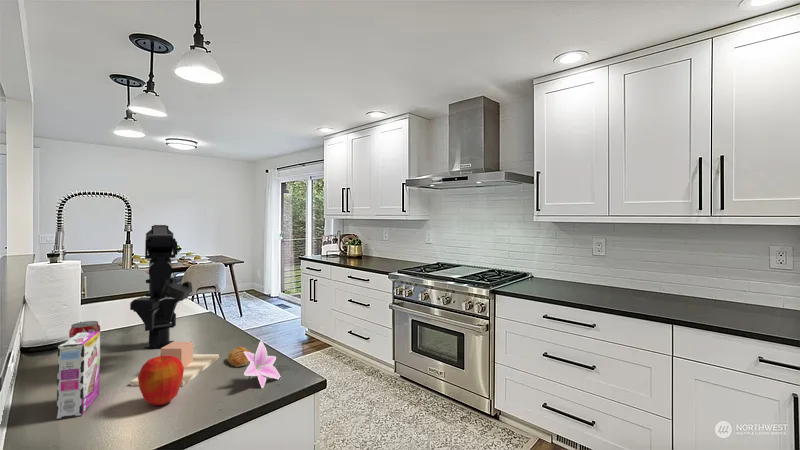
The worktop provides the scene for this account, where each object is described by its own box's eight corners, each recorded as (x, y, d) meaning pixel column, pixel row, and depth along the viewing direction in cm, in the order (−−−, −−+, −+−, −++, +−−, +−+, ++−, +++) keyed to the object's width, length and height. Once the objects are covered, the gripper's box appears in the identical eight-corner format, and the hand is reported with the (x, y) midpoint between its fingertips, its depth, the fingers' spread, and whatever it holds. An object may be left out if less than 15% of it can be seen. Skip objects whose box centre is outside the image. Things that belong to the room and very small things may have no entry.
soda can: (82, 372, 107) (82, 327, 106) (62, 370, 108) (62, 326, 108) (106, 363, 114) (106, 321, 113) (87, 361, 115) (87, 319, 115)
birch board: (175, 357, 119) (175, 353, 119) (218, 358, 119) (218, 354, 119) (130, 385, 99) (130, 381, 99) (183, 386, 99) (183, 381, 99)
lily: (235, 398, 95) (252, 368, 94) (225, 367, 103) (241, 338, 102) (276, 398, 103) (293, 369, 102) (264, 369, 112) (279, 342, 111)
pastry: (254, 365, 114) (254, 353, 114) (230, 370, 110) (230, 357, 110) (248, 356, 122) (248, 344, 122) (226, 360, 118) (226, 348, 118)
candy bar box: (84, 416, 84) (84, 343, 84) (55, 420, 82) (55, 346, 82) (101, 394, 94) (101, 329, 94) (76, 397, 92) (76, 332, 92)
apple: (133, 415, 84) (134, 363, 84) (143, 398, 92) (143, 350, 92) (181, 408, 88) (181, 357, 88) (186, 391, 96) (186, 345, 96)
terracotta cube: (173, 361, 113) (173, 341, 113) (192, 361, 113) (193, 341, 113) (160, 369, 107) (160, 348, 107) (181, 369, 107) (181, 348, 107)
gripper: (168, 282, 105) (168, 336, 106) (202, 271, 124) (201, 317, 124) (128, 281, 105) (128, 335, 105) (168, 270, 123) (167, 316, 124)
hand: (160, 325), depth 115 cm, fingers open, 9 cm apart
